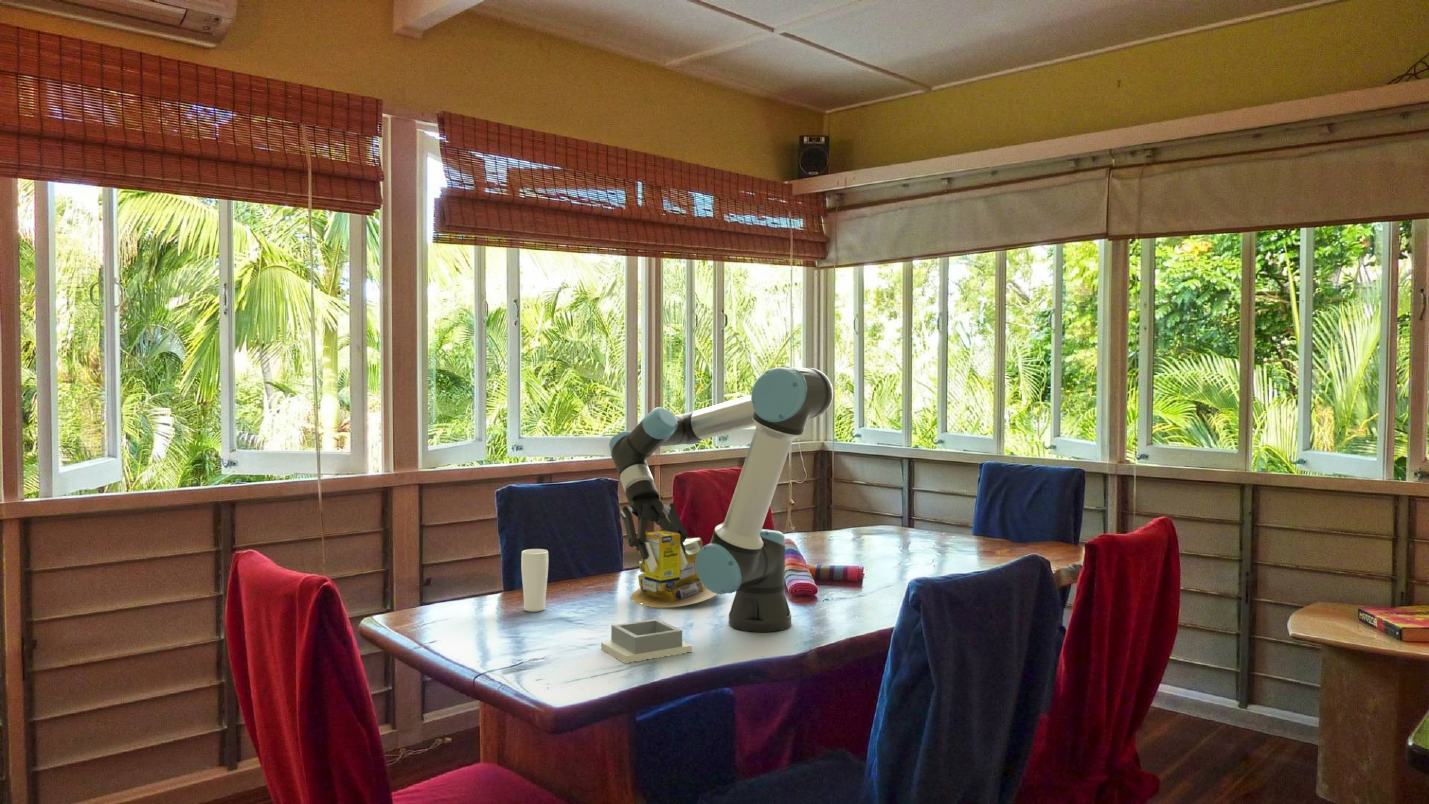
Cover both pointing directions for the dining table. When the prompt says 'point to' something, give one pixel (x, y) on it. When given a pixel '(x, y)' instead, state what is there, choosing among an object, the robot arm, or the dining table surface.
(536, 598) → the drinking glass
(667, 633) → the box holder
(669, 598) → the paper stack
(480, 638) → the dining table surface
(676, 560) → the supplement box
